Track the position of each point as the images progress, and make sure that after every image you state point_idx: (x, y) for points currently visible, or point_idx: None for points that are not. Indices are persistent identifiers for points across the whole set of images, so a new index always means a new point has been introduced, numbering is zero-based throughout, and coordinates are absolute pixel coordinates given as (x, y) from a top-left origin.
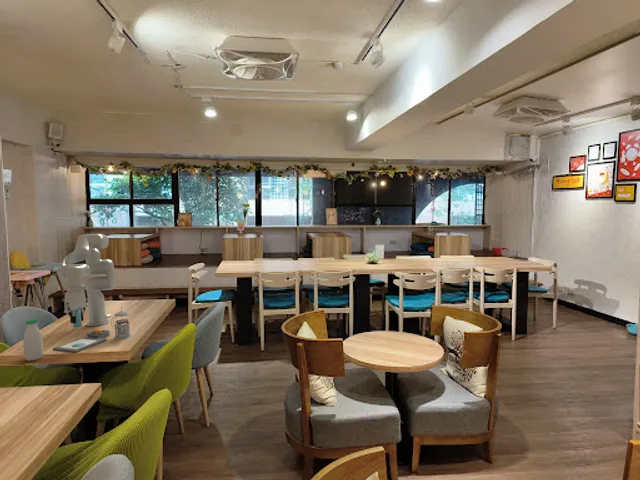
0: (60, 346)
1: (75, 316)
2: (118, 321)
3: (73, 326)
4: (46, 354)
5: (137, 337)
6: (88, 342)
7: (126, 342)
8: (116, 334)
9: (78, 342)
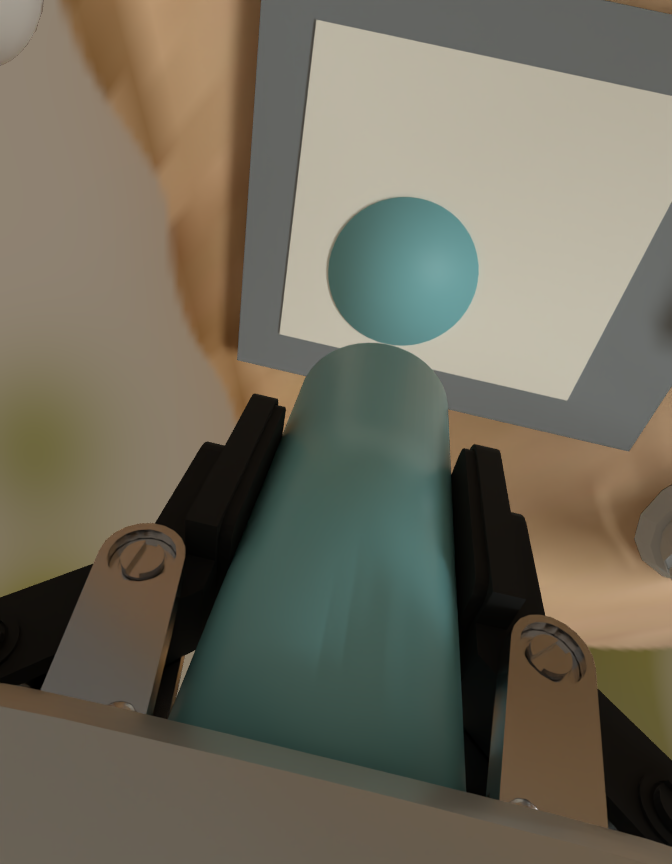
0: (344, 15)
1: None
2: None
3: (302, 387)
4: (106, 8)
5: (667, 629)
6: (506, 331)
7: None
8: None
9: (519, 192)
